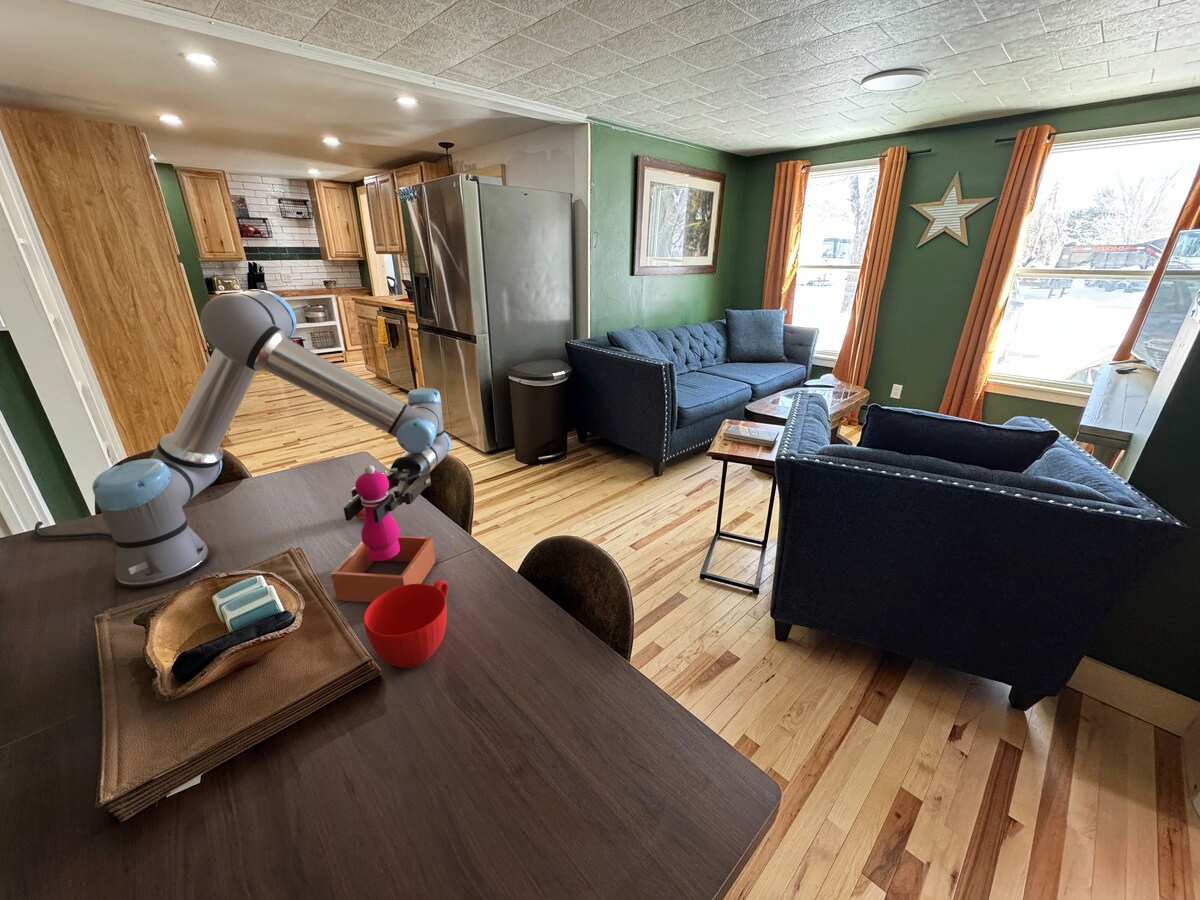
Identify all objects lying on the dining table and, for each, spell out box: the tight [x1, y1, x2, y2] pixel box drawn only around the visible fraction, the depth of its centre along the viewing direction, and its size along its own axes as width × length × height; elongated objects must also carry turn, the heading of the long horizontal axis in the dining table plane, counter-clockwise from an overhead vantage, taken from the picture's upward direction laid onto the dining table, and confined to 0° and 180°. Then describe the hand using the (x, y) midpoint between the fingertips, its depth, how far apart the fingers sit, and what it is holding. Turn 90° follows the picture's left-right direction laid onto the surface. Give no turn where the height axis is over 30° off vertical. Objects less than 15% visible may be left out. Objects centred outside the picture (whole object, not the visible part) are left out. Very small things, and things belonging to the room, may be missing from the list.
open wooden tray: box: [330, 535, 436, 603], centre depth 101 cm, size 15×15×6 cm
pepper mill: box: [354, 464, 401, 562], centre depth 95 cm, size 7×7×20 cm
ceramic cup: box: [363, 580, 449, 669], centre depth 83 cm, size 13×17×10 cm
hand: (361, 515), depth 90 cm, fingers closed on pepper mill, 5 cm apart
